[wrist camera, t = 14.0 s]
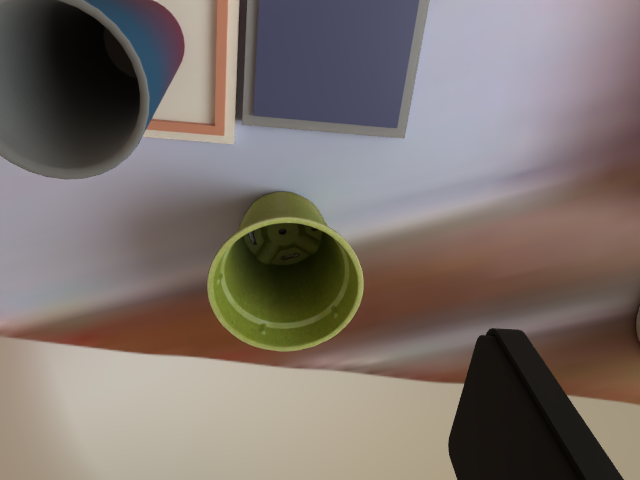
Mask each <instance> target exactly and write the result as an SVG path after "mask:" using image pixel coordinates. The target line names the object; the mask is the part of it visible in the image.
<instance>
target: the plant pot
mask: <svg viewBox="0 0 640 480" xmlns="http://www.w3.org/2000/svg"><path fill="white" fill-rule="evenodd" d="M312 227H314V228H316V230H315V231H313V230H312ZM280 229H285V230H286V233H285V234H280V233H279V231H280ZM251 231H253V233H254V238H255V240H256V243H257V244H256V245H255V244H254V243H252V241H251V240H250V237H249V232H251ZM295 253H299V254H298V256H297V257H294V258H291V259H288V260H284V259H282V258H281V257H282V256H286V255H291V254H295ZM363 287H364V281H363V273H362V269H361V265H360V263H359V260H358V258H357V256H356V254H355V253H354V251H353V249H352V248H351V246H350V245H349V244H348V243H347V241H346V240H345V239H344V238H343V237H342V236H341V235H340V234H338V233H337V232H336V231H335V230H333V229H331V228H330V227H328V226H327V224H326V222H325V221H324V219H323V217H322V215H321V214H320V212H319V210H318V209H317V208H316V206H315V205H314V204H313V203H312V202H310V201H309V200H307V199H306V198H304V197H302V196H300V195H297V194H295V193H291V192H275V193H271V194H268V195H265V196H263V197H261V198H259V199H258V200H256V201H255V202H254V203H253V204H252V205H251V207H250V208H249V209H248V210H247V212H246V214H245V215H244V217H243V220H242V222H241V224H240V227H239V229H238V231H237V232H236V233H235V234H233V235H232V236H231V237H230V238H229V239H228V240H227V241H226V242H225V243H224V244H223V245H222V246H221V248H220V249H219V250H218V252H217V253H216V255H215V257H214V259H213V261H212V264H211V266H210V269H209V273H208V280H207V291H208V298H209V302H210V305H211V308H212V310H213V311H214V314H215V315H216V317H217V319H218V320H219V322H220V323H221V324H222V325H223V326H224V327H225V328H226V329H227V330H228V331H229V332H230V333H231V334H232V335H234V336H235V337H237V338H238V339H240V340H241V341H243V342H245V343H247V344H250V345H252V346H254V347H258V348H261V349H266V350H274V351H296V350H301V349H305V348H310V347H313V346H316V345H318V344H320V343H322V342H325V341H327V340H329V339H331V338H332V337H333V336H335V335H337V334H338V333H339V332H340V331H341V330H342V329H343V328H344V327H345V326H346V325H347V324H348V323H349V322H350V321H351V319H352V318H353V316H354V315H355V313H356V311H357V309H358V307H359V305H360V302H361V299H362V295H363Z"/></svg>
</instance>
